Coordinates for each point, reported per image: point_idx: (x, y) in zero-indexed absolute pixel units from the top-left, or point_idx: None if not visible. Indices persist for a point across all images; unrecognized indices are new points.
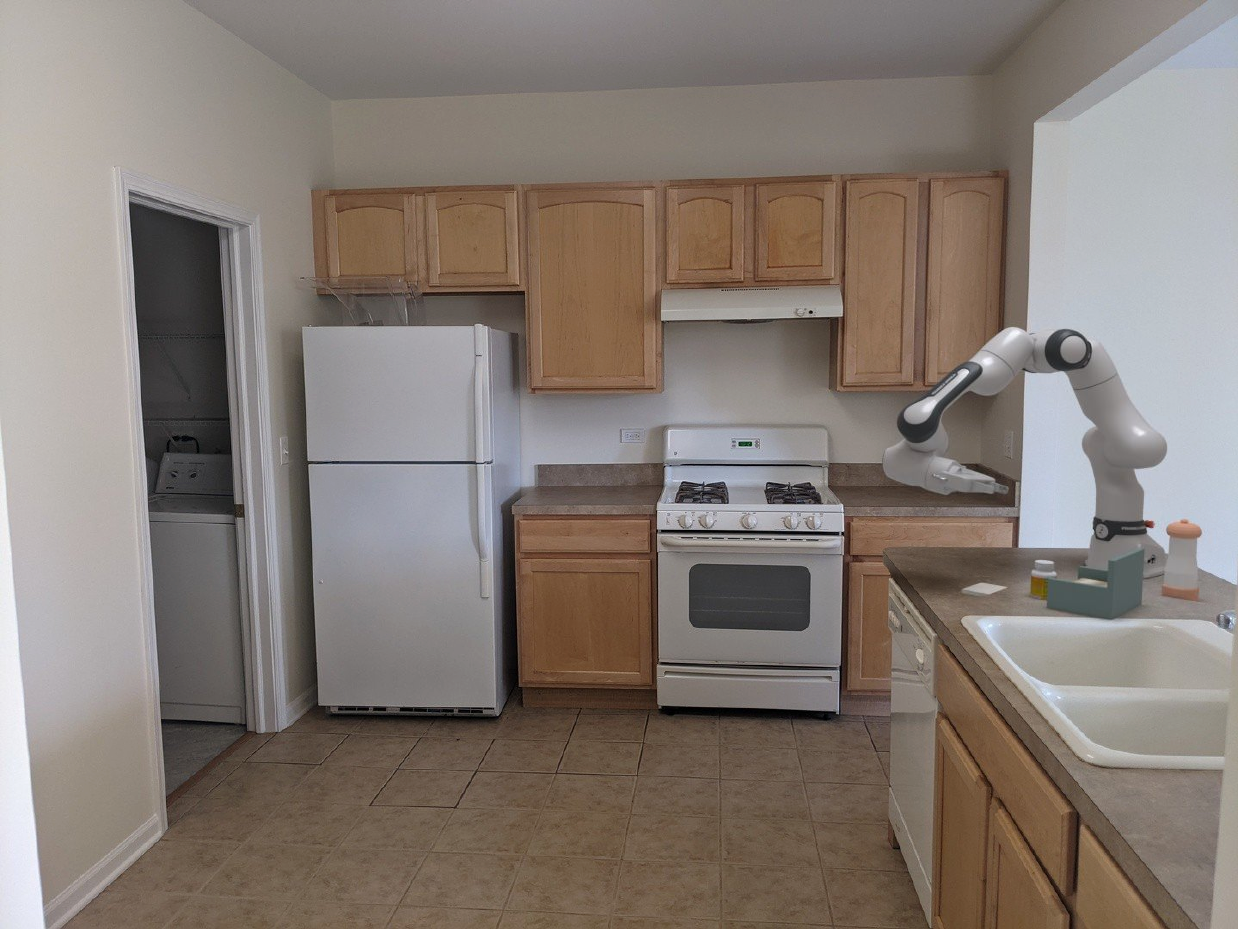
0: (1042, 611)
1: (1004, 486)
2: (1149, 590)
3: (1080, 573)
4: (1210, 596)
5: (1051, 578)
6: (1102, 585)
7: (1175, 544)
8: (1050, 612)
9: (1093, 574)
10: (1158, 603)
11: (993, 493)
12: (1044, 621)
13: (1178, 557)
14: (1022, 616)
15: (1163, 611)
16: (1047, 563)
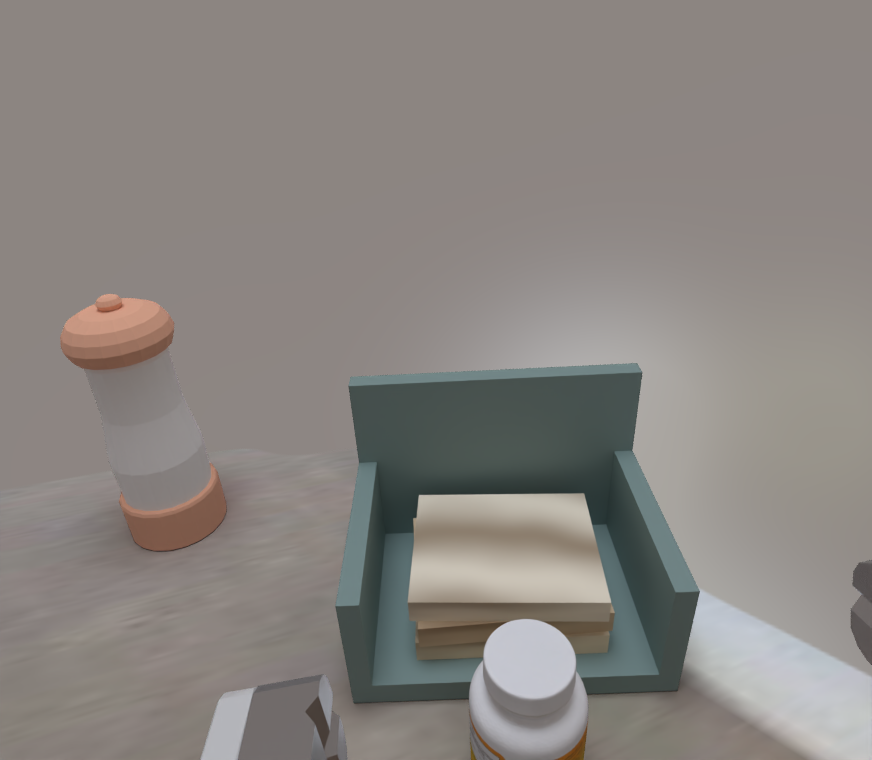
0: (651, 719)
1: (297, 702)
2: (57, 601)
3: (363, 616)
4: (82, 493)
5: (682, 584)
6: (478, 525)
7: (164, 375)
8: (635, 693)
9: (367, 572)
10: (247, 538)
11: (858, 640)
12: (764, 656)
13: (181, 404)
14: (798, 738)
15: (339, 508)
16: (556, 630)
